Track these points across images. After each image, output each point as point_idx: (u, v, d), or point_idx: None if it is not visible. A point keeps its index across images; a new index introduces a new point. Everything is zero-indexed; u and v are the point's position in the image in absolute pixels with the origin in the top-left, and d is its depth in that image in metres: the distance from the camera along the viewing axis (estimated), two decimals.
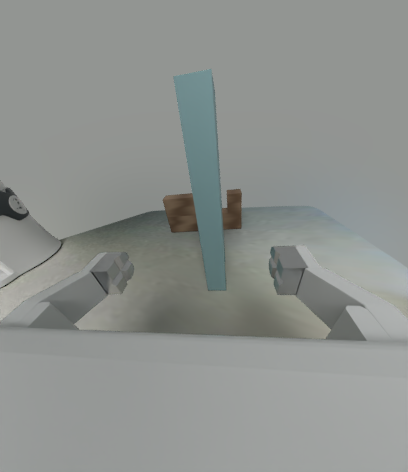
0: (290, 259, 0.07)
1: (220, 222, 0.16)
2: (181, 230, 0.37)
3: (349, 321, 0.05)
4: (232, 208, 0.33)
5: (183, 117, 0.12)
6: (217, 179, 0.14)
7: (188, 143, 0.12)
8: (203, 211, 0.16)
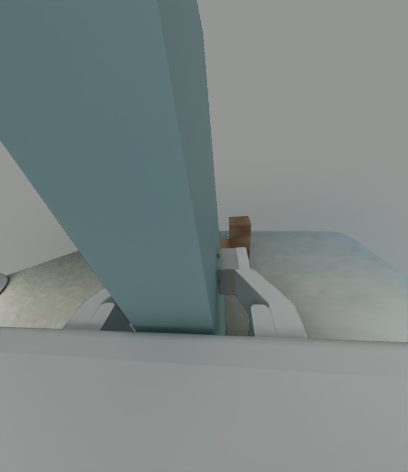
0: (226, 261, 0.07)
1: None
2: None
3: (252, 319, 0.05)
4: (237, 243, 0.23)
5: None
6: (206, 309, 0.04)
7: (66, 207, 0.03)
8: None
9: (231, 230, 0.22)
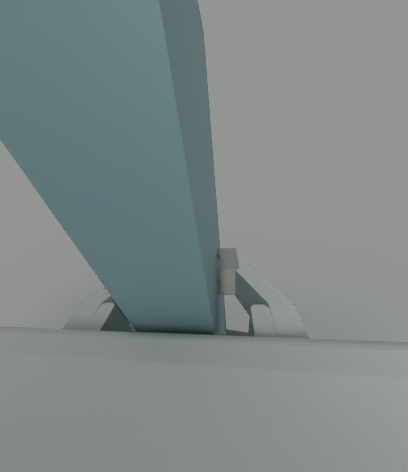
0: (226, 261, 0.07)
1: None
2: None
3: (252, 319, 0.05)
4: None
5: None
6: (206, 309, 0.04)
7: (66, 206, 0.03)
8: None
9: None
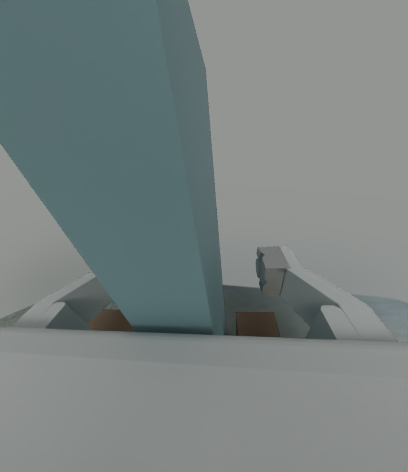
0: (273, 259, 0.07)
1: None
2: None
3: (323, 320, 0.05)
4: None
5: (30, 165, 0.02)
6: (209, 329, 0.05)
7: (93, 252, 0.03)
8: None
9: None
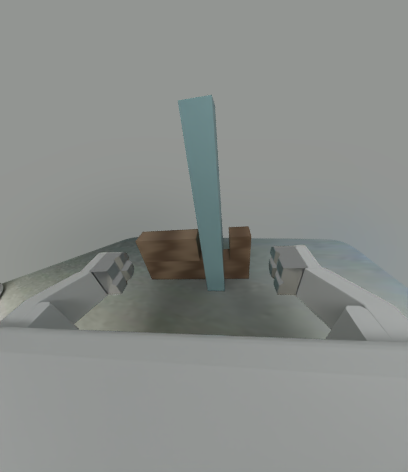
0: (290, 259, 0.07)
1: (219, 228, 0.17)
2: (165, 278, 0.27)
3: (349, 321, 0.05)
4: (237, 255, 0.22)
5: (186, 135, 0.13)
6: (216, 189, 0.15)
7: (190, 157, 0.14)
8: (203, 217, 0.17)
9: (231, 241, 0.21)
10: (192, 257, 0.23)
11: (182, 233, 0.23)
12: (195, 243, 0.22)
